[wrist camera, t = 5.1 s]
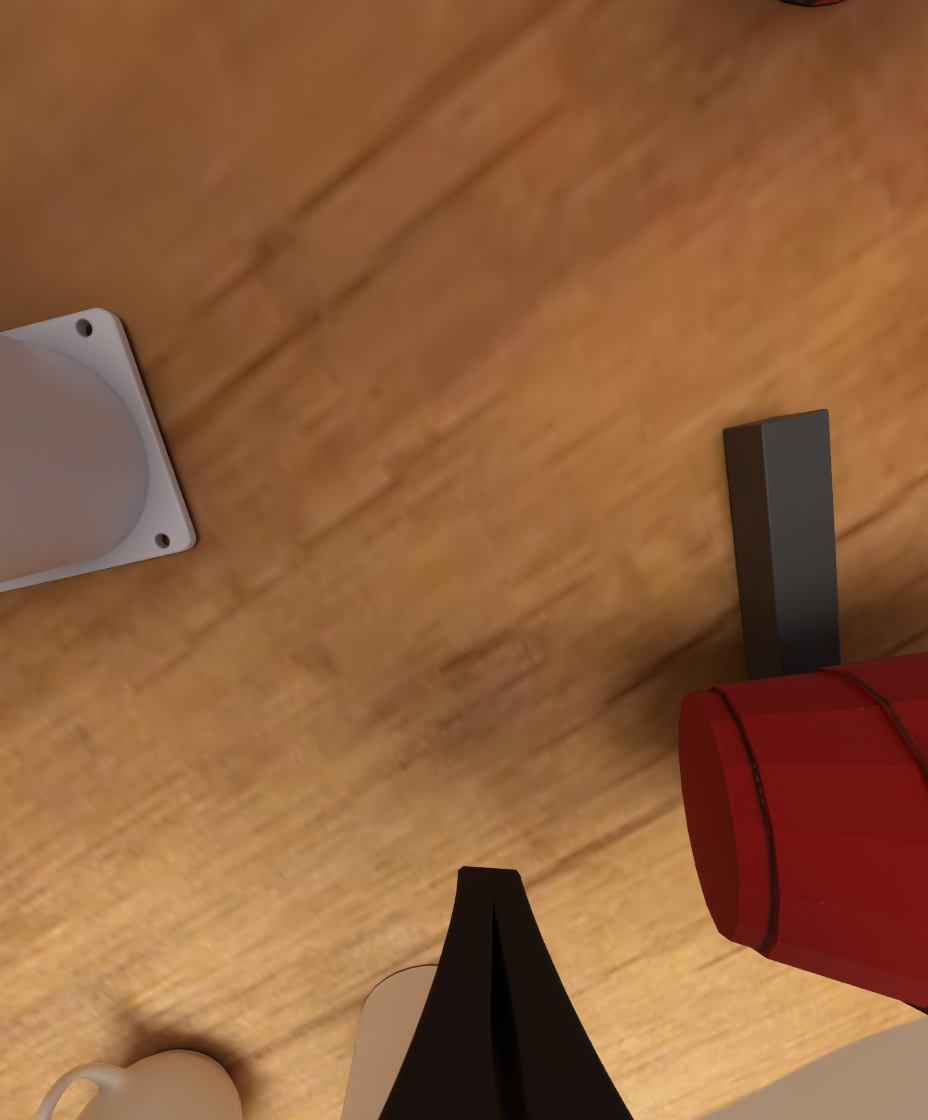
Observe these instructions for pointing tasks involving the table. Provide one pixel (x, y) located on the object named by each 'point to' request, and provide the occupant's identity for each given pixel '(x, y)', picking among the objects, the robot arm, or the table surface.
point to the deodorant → (813, 2)
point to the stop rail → (785, 543)
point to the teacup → (154, 1089)
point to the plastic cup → (816, 818)
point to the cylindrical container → (384, 1040)
